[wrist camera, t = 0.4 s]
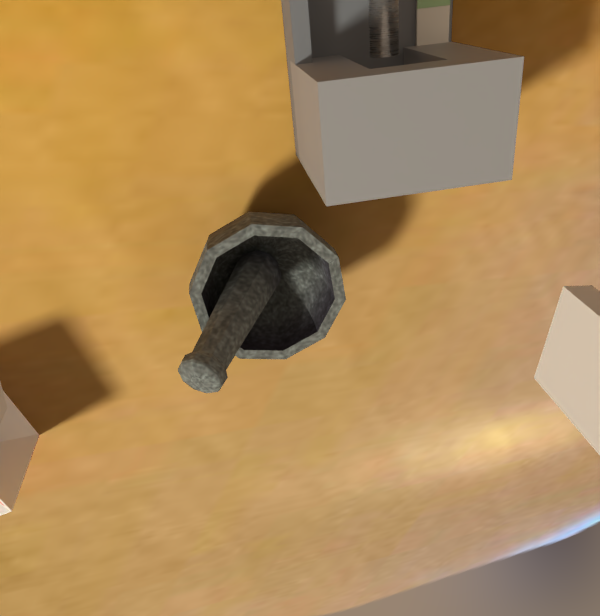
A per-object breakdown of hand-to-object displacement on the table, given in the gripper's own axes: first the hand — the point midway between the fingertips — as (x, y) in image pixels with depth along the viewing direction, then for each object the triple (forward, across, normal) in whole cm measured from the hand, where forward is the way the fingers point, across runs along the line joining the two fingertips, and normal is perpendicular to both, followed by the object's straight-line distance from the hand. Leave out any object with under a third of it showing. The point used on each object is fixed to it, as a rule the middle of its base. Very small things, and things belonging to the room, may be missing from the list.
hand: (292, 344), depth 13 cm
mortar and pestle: (+27, +1, -10) cm, 29 cm away
